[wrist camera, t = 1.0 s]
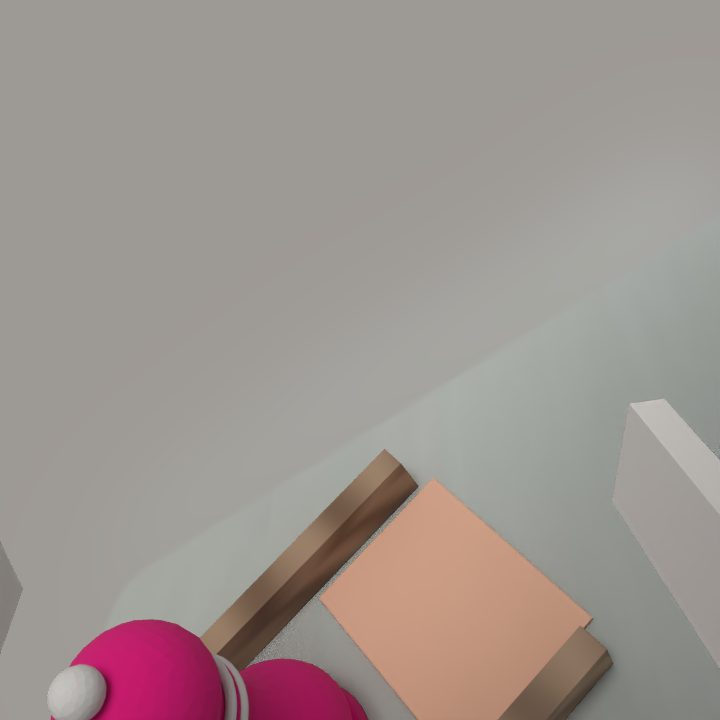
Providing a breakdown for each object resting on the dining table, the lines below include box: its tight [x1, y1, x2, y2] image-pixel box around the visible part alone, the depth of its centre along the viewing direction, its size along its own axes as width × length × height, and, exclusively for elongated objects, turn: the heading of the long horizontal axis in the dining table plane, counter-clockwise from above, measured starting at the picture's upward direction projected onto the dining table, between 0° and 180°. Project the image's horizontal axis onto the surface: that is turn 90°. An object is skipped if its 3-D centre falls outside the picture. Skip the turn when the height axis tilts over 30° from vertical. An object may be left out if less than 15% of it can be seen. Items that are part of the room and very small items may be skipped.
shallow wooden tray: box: [200, 449, 613, 720], centre depth 36 cm, size 22×16×4 cm
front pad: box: [319, 478, 593, 720], centre depth 38 cm, size 10×12×1 cm
